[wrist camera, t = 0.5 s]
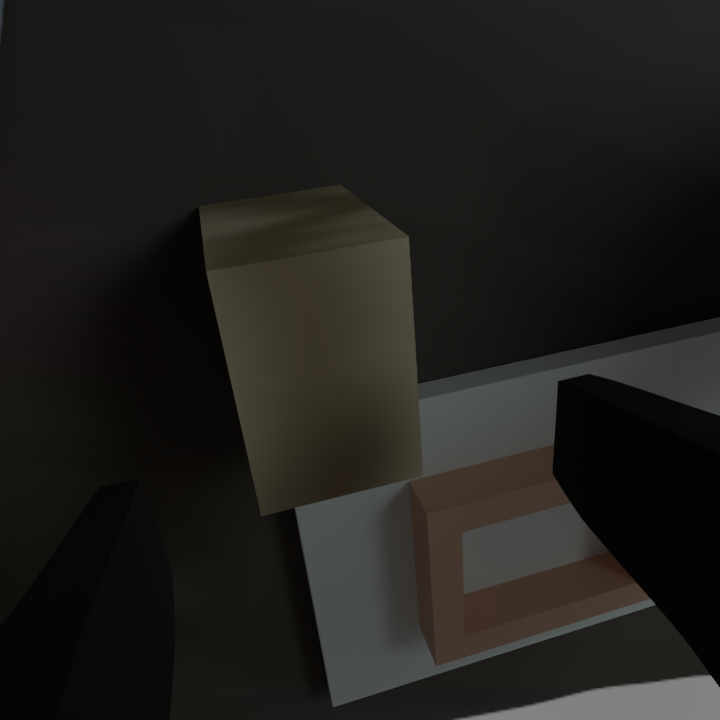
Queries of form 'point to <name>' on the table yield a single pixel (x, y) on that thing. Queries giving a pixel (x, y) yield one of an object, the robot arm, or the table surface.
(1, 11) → the medicine box
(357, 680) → the holder
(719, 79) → the table surface
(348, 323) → the oak block
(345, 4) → the table surface
